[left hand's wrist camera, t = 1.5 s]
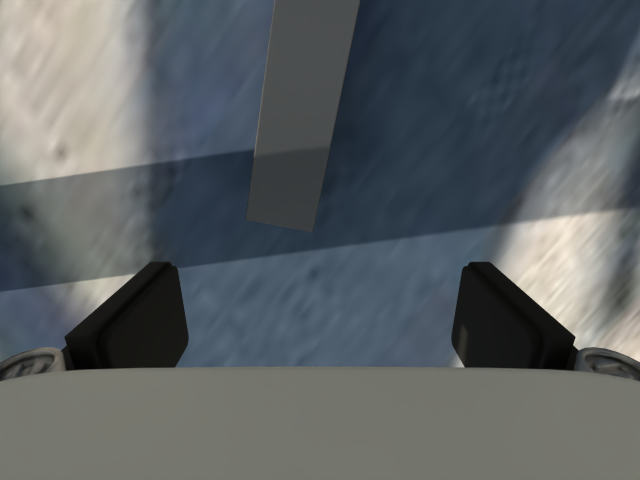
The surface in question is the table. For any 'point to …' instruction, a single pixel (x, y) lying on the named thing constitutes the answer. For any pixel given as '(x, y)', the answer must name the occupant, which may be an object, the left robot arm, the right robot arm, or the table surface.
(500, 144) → the table surface
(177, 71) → the table surface
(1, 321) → the table surface
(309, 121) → the beam
